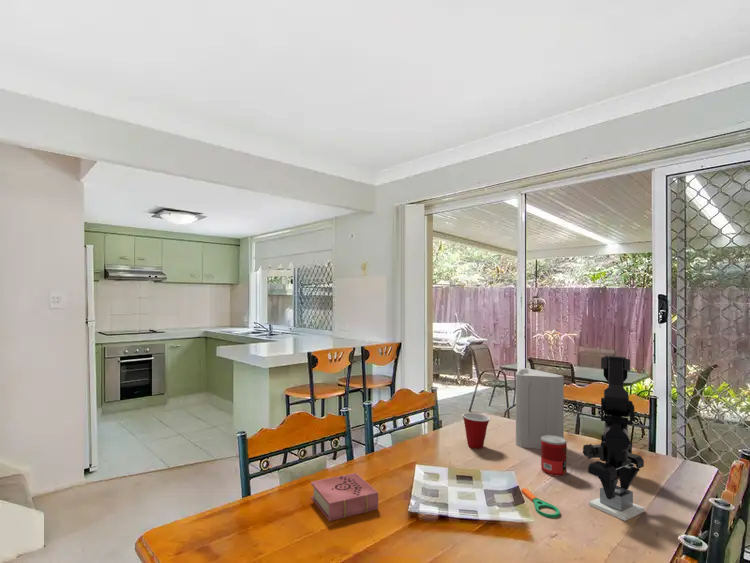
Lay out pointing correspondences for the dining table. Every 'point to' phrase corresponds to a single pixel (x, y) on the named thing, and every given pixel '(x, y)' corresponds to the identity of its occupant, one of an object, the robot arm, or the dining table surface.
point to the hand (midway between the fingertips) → (616, 495)
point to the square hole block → (618, 499)
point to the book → (344, 496)
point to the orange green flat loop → (541, 504)
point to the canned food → (553, 455)
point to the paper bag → (538, 406)
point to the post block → (621, 515)
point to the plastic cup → (475, 429)
